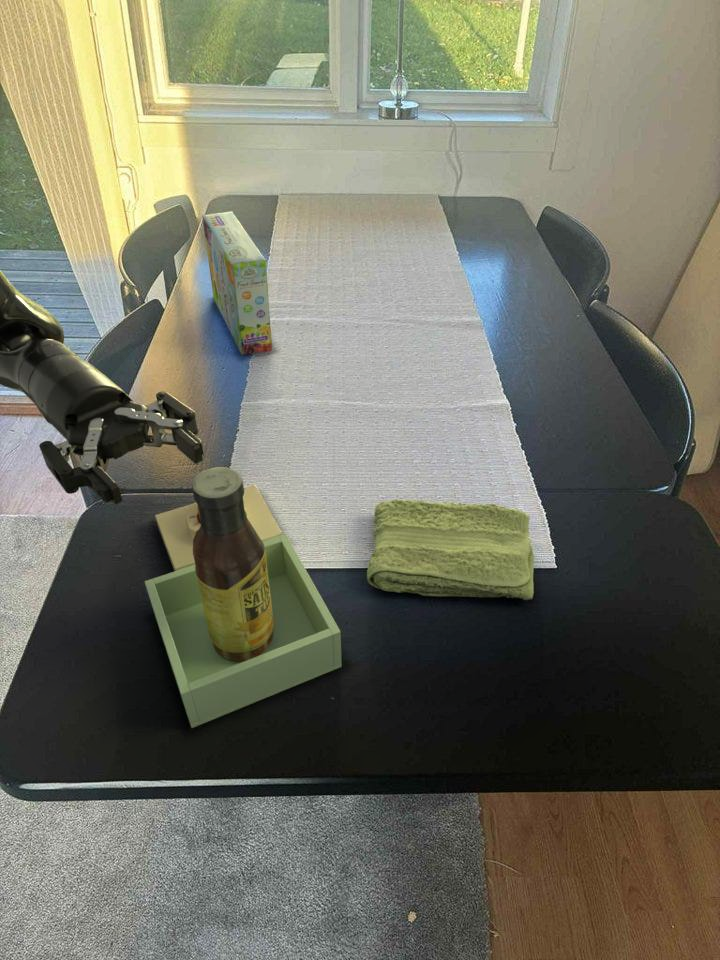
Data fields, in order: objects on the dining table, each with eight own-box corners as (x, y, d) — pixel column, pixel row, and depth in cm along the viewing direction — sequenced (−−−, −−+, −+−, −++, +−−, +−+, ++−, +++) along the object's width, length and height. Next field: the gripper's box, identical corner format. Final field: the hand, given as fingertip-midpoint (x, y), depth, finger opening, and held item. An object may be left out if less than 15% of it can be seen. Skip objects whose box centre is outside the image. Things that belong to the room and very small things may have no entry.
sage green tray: (191, 728, 62) (180, 694, 58) (155, 616, 71) (144, 581, 67) (341, 666, 66) (340, 631, 63) (289, 569, 76) (286, 534, 72)
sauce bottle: (266, 669, 66) (242, 518, 53) (202, 660, 66) (163, 509, 53) (283, 614, 71) (264, 462, 57) (223, 606, 71) (192, 455, 58)
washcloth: (536, 608, 72) (542, 588, 70) (365, 596, 73) (365, 575, 71) (526, 519, 81) (530, 498, 79) (374, 509, 83) (375, 489, 81)
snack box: (276, 351, 110) (267, 258, 100) (241, 358, 108) (229, 265, 98) (242, 293, 125) (232, 208, 115) (211, 299, 123) (198, 213, 113)
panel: (178, 580, 75) (172, 558, 72) (158, 526, 81) (152, 504, 78) (283, 545, 78) (281, 522, 76) (256, 496, 85) (253, 474, 82)
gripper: (1, 397, 68) (76, 478, 59) (133, 346, 75) (218, 411, 66) (25, 457, 73) (98, 540, 64) (147, 404, 80) (228, 472, 71)
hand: (159, 474), depth 65 cm, fingers open, 8 cm apart
